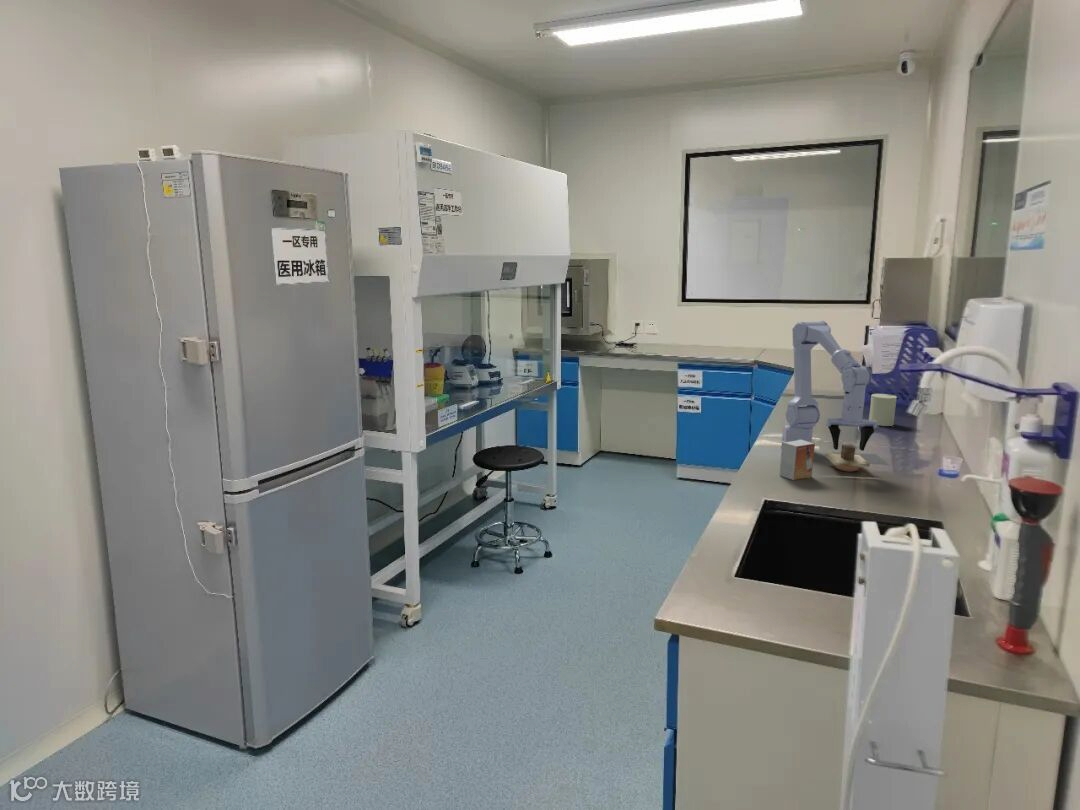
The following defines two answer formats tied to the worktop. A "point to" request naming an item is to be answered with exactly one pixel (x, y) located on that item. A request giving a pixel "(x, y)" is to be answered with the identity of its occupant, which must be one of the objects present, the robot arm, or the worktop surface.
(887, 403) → the can
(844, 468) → the pink rounded disc
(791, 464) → the small box
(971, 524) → the worktop surface
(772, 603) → the worktop surface
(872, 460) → the mat
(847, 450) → the lid
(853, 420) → the robot arm
